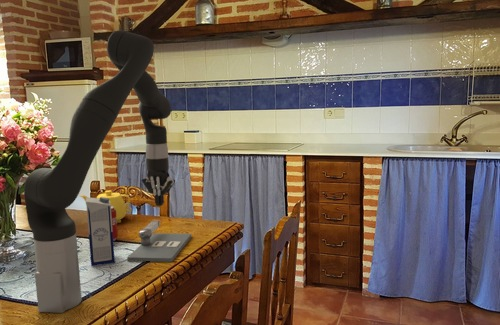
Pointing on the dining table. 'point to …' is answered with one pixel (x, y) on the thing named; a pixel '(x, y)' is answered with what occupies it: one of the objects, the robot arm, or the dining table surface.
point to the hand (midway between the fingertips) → (159, 205)
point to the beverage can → (114, 223)
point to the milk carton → (100, 231)
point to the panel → (160, 247)
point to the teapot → (115, 203)
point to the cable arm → (149, 229)
